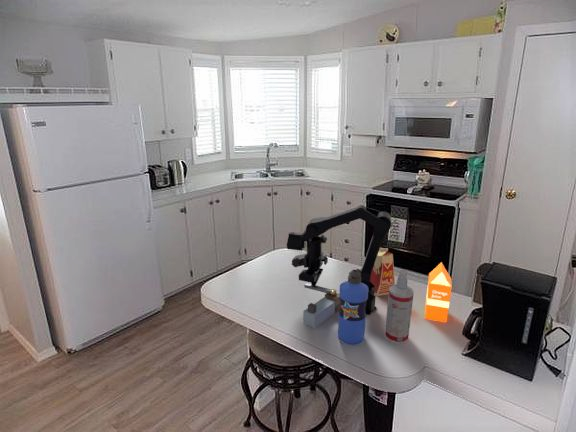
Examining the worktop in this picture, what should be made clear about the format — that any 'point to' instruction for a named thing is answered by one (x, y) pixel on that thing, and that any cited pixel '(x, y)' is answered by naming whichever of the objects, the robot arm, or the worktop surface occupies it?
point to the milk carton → (383, 272)
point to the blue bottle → (352, 309)
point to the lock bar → (321, 289)
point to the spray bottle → (399, 310)
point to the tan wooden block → (334, 298)
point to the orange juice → (438, 294)
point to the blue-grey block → (318, 312)
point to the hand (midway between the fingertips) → (313, 286)
